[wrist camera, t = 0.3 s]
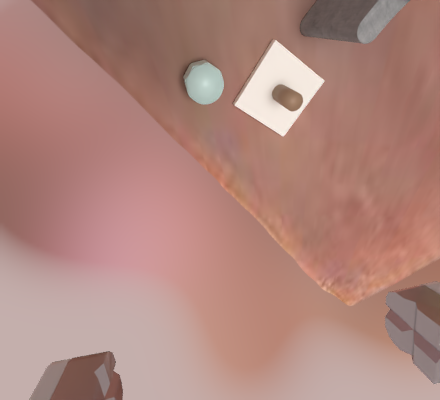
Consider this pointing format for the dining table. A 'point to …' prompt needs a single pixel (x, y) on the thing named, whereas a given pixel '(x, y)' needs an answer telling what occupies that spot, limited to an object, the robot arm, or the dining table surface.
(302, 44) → the dining table surface
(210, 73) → the cap
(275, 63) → the post stand
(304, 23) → the hip flask
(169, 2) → the dining table surface
